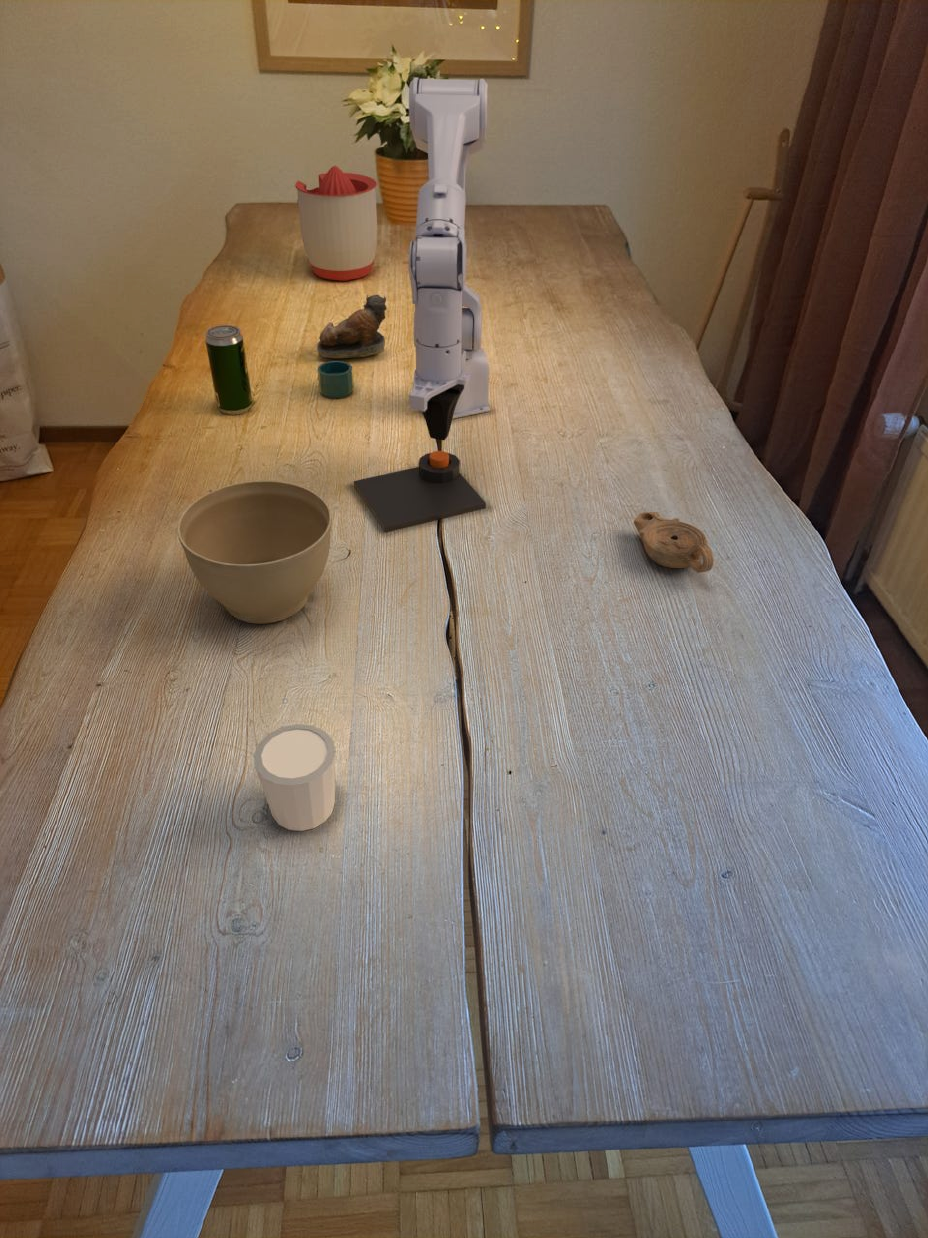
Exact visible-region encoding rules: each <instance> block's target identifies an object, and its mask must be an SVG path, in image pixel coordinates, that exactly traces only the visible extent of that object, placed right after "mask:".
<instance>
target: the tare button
mask: <svg viewBox="0 0 928 1238" xmlns="http://www.w3.org/2000/svg"><path fill="white" fill-rule="evenodd" d="M446 452H447V451H445V450H434V451H432V452H430V453H431V454H430V466H432V467H434V468H444V467H447V466H448V465H449V455H448V453H449V452H447V453H446Z"/></svg>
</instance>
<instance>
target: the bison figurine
mask: <svg viewBox="0 0 928 1238" xmlns="http://www.w3.org/2000/svg"><path fill="white" fill-rule="evenodd" d="M365 299H366V302H365V304H364V305H363V308H360V309H357V310H356V311H354V312H353V313H351V314H350V315H349V316H348V317H347V318H346V319H343V320H341V321H340V322H339V323H338V324H337V325H335V326H334V323H333V322H332V321H330V322H328V323H327V325H325V327H324V328H323V330H322V331H321V332H320V334H319V338H318V339H319V341H318V342H317V344H316V350H317V352H318V354H319V356H321V357H324V358H330V359H355V358H365V357H369V356H374V355H379V354H382V353H383V352H384V349H385V345H386V339H385V336H384V335H383V334H381V333H380V332H379V331H378V330H379V329H380V326H381V323H383V321H384V320H385V319H386V310H388V308H387V305H386V302H387V296H386V294H384V295H383V297H382V296H381V295H379V294H372V295H370V296H369V294H367V295H366V297H365Z"/></svg>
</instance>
